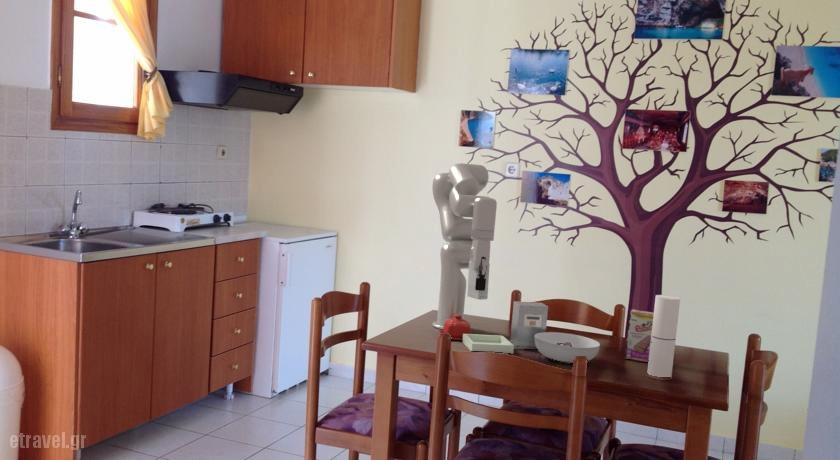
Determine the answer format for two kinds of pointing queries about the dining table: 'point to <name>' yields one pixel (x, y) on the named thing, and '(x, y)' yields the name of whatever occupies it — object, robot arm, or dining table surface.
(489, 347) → the tray
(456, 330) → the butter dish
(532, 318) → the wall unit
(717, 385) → the dining table surface
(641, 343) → the candy bar box
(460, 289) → the robot arm
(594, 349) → the serving bowl
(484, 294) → the skincare box
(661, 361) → the cylindrical container
